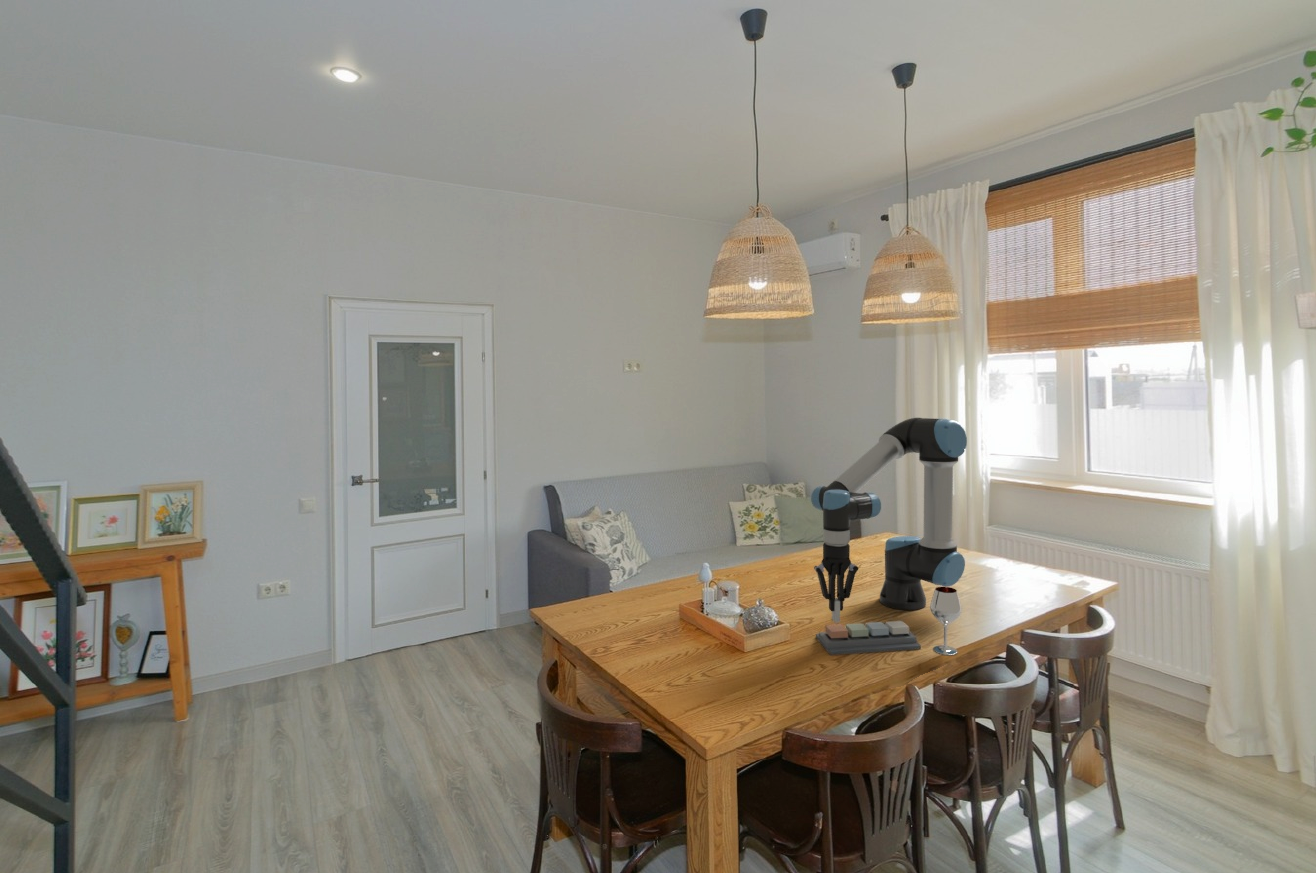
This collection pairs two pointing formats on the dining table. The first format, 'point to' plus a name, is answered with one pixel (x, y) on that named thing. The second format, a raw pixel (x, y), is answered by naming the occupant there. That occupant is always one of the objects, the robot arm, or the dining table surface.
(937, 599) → the wineglass
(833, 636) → the key terracotta
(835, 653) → the keypad
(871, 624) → the key bluegrey
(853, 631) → the key sage
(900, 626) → the key ivory
